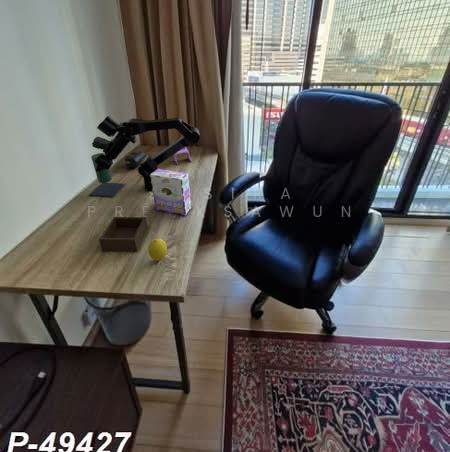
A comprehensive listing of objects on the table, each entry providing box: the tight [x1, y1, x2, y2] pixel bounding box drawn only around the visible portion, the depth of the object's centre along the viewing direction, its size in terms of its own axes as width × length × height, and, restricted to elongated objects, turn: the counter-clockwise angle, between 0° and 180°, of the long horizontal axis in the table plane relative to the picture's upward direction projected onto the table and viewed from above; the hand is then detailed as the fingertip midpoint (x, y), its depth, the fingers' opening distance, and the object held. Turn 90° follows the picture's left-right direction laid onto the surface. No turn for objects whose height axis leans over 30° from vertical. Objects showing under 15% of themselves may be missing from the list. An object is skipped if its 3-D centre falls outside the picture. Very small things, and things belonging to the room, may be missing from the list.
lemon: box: [147, 238, 168, 262], centre depth 77 cm, size 6×6×8 cm
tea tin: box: [90, 152, 113, 184], centre depth 111 cm, size 6×6×12 cm
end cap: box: [124, 150, 147, 170], centre depth 138 cm, size 10×7×7 cm
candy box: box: [150, 168, 192, 216], centre depth 99 cm, size 14×6×16 cm, turn 71°
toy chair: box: [173, 147, 193, 165], centre depth 140 cm, size 8×9×15 cm
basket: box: [98, 216, 149, 252], centre depth 86 cm, size 12×12×5 cm
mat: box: [89, 182, 125, 198], centre depth 116 cm, size 11×11×1 cm
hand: (98, 168), depth 111 cm, fingers closed on tea tin, 6 cm apart
